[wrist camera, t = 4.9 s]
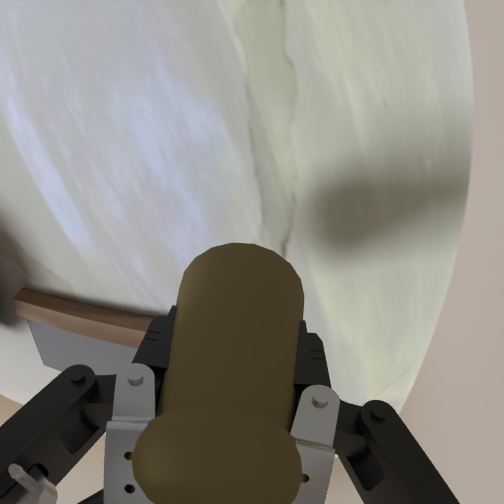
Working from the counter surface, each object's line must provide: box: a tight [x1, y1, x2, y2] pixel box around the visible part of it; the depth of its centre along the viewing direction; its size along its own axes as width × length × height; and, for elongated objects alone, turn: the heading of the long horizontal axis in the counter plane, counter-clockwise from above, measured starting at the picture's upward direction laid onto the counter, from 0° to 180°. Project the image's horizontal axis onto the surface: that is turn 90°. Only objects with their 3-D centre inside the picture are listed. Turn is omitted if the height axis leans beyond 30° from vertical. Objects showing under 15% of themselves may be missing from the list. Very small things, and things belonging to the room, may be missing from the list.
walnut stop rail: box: [12, 288, 156, 348], centre depth 24 cm, size 2×20×2 cm, turn 84°
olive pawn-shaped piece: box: [127, 243, 307, 504], centre depth 10 cm, size 6×6×11 cm
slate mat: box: [27, 319, 138, 375], centre depth 26 cm, size 8×20×1 cm, turn 84°
